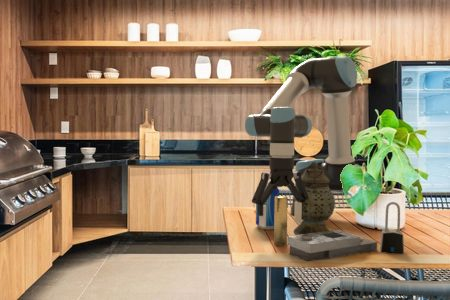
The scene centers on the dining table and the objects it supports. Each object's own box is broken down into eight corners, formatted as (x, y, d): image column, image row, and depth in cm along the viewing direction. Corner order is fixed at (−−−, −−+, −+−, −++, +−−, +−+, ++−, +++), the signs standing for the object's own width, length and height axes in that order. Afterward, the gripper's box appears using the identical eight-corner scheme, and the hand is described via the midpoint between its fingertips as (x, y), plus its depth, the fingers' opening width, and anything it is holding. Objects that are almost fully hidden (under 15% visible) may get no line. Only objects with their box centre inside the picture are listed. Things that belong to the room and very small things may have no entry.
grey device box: (352, 242, 147) (353, 224, 147) (376, 250, 138) (377, 231, 138) (287, 253, 134) (287, 233, 134) (309, 262, 126) (309, 241, 125)
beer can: (277, 230, 163) (278, 185, 162) (254, 229, 165) (254, 185, 164) (279, 225, 171) (280, 183, 171) (257, 224, 173) (257, 182, 172)
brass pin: (281, 242, 147) (282, 195, 146) (289, 245, 143) (290, 197, 142) (271, 243, 145) (272, 196, 144) (279, 246, 141) (279, 198, 141)
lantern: (340, 232, 160) (342, 161, 159) (321, 240, 149) (322, 164, 148) (305, 226, 169) (307, 159, 168) (284, 233, 159) (285, 161, 157)
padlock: (402, 250, 138) (404, 201, 137) (404, 254, 134) (406, 203, 133) (379, 248, 140) (380, 200, 139) (380, 252, 136) (381, 202, 135)
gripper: (305, 155, 152) (304, 218, 153) (241, 156, 140) (240, 225, 141) (320, 156, 145) (319, 222, 146) (254, 158, 133) (253, 230, 134)
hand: (280, 224), depth 144 cm, fingers open, 13 cm apart
